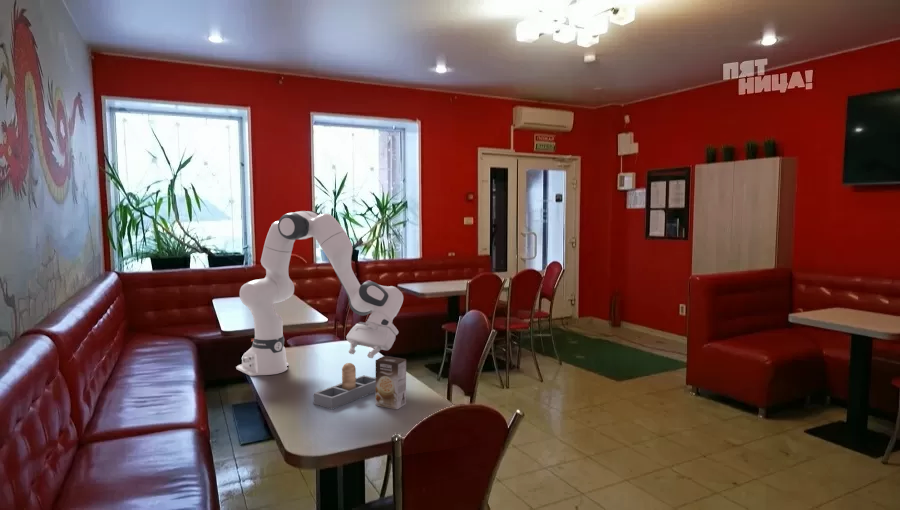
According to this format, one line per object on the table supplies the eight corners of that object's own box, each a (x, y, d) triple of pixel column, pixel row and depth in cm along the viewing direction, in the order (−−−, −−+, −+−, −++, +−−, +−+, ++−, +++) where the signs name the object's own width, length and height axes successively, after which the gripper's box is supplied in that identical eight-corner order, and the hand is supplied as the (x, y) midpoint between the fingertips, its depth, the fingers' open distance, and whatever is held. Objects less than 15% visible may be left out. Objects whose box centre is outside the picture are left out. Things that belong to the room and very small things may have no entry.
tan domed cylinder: (339, 394, 192) (339, 363, 192) (349, 391, 196) (348, 360, 195) (349, 397, 190) (348, 365, 189) (358, 393, 194) (358, 362, 193)
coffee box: (374, 405, 184) (374, 359, 182) (384, 399, 189) (384, 355, 188) (397, 410, 180) (397, 363, 179) (407, 403, 186) (406, 358, 184)
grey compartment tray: (313, 403, 185) (313, 393, 185) (363, 384, 206) (363, 375, 206) (332, 409, 180) (331, 398, 180) (381, 389, 201) (381, 379, 201)
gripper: (353, 316, 208) (335, 346, 201) (394, 322, 197) (376, 354, 189) (362, 326, 212) (344, 355, 205) (402, 332, 201) (384, 364, 193)
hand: (360, 355), depth 197 cm, fingers open, 8 cm apart
